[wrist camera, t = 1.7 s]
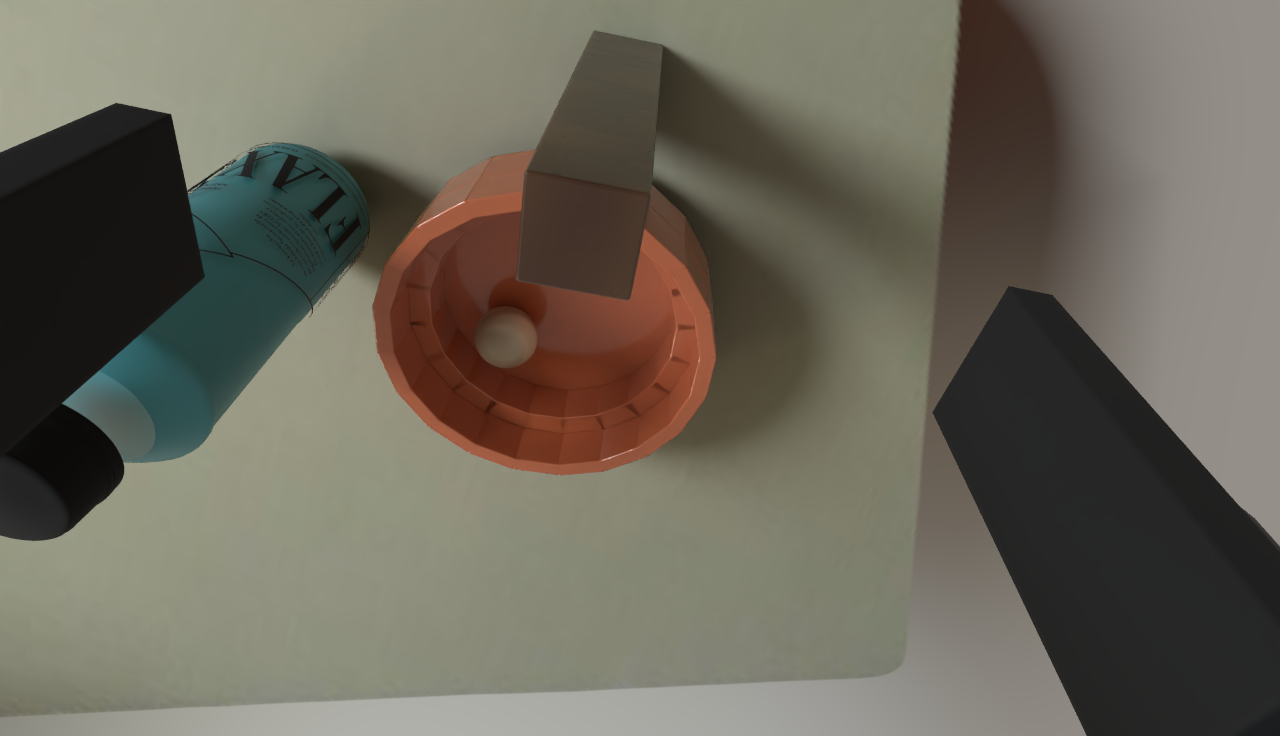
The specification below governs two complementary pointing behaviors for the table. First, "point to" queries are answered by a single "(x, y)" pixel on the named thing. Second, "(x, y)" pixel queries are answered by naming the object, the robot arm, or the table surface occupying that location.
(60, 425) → the beverage bottle
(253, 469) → the table surface
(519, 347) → the bead
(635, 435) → the bowl
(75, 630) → the table surface
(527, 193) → the stick
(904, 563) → the table surface
